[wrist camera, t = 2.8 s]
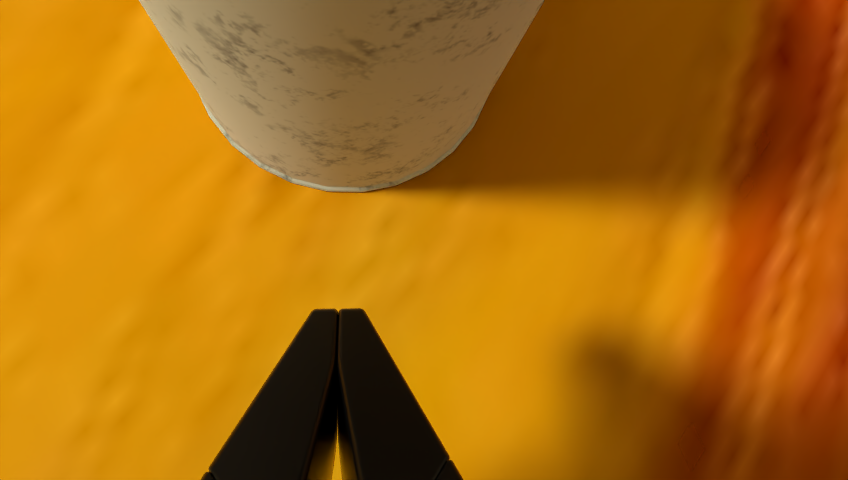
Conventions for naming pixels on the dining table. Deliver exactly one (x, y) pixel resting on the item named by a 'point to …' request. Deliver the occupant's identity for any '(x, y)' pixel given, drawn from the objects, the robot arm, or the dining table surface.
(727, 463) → the dining table surface
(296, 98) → the grey stubby cylinder
